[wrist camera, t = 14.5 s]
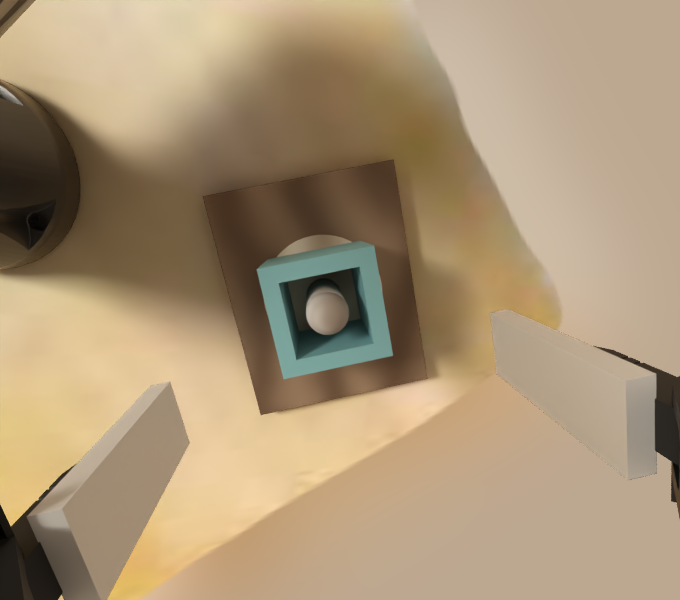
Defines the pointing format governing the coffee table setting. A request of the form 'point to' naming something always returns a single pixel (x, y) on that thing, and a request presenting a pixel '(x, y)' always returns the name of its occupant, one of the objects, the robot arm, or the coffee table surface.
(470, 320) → the coffee table surface
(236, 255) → the post stand
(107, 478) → the robot arm
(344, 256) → the teal ring
